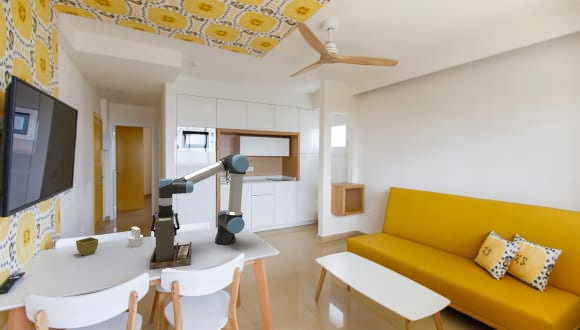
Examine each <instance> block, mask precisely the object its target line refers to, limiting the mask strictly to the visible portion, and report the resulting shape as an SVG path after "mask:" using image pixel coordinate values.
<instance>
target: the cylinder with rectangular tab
mask: <svg viewBox="0 0 580 330" xmlns="http://www.w3.org/2000/svg"><path fill="white" fill-rule="evenodd" d="M127 239H128V240H127V242H128V245H127V246H128V248H131V249H132V248H139V247H142V246H144V235H143V234H141V228H140V227H138V226H131V235H130V236H128V238H127Z"/></svg>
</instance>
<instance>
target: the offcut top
mask: <svg viewBox="0 0 580 330" xmlns="http://www.w3.org/2000/svg"><path fill="white" fill-rule="evenodd" d="M188 251H189V245H188V246H181V247H180V250H178V255H177V258H178V259H179V258H187V255H188V256H189V254H188ZM187 259H188V258H187Z"/></svg>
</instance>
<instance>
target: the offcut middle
mask: <svg viewBox="0 0 580 330" xmlns="http://www.w3.org/2000/svg"><path fill="white" fill-rule="evenodd" d="M188 259H189V251H188V255H187V258H179V259H178V257H177V260H176V261H180V260H188Z"/></svg>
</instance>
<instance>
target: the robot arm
mask: <svg viewBox="0 0 580 330" xmlns="http://www.w3.org/2000/svg"><path fill="white" fill-rule="evenodd" d="M249 168H250V162H249V159H248V157H246V156H245V155H242V154H239V153H238V154H229V155H227V156H224V157H222V158H220V159H218V160H217V161H216V162H214V163H212V164H209V165H208V166H205V167H202V168H200V169H198V170H196V171H194V172H191V173H188V174H186V175H184V176H182V177H180V178H174V179H172V178H160V179H158V180H159V181H158V211H159V213H158V212H157V213H156V214H155V213H153V215H152V223H151V226H150V232H153V237H154V238H156V233H155V221H156V219H157V216H159V217H160V218H170V217H171V216H172V215H174V221H175V223H174V242H175V241H176V240H175V237H176V236H177V234H178V233H177V231H178V230H180V228H181V226H180V221H179V218H178V216H179V213H178V212H174V213H173V211H172V210H173V195H182V194H187V195H188V194H192V193H193V192H194V188H195V187H194V185H196V184H197V183H200V182H202V181H204V180H207V179H209V178H211V177H214V176H216V175H219V174H220V173H225V172H228V175H229V176H230V181H229V195H228V196H229V197H228V208H227V210H225V209H224V210H220V211H218V212H217V232H216V235H215V238H214V244H217V245H221V246H223V245H224V246H227V245H228V246H229V245H232V244H235V243H236V241H237V238H236V235H237V234H240V233H241V232H242V231H243V230H244V227H245V221H244V219H243V214H244V213H243V212H242V198H243V187H244V177H245V176H246V173H247V170H248V169H249Z"/></svg>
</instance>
